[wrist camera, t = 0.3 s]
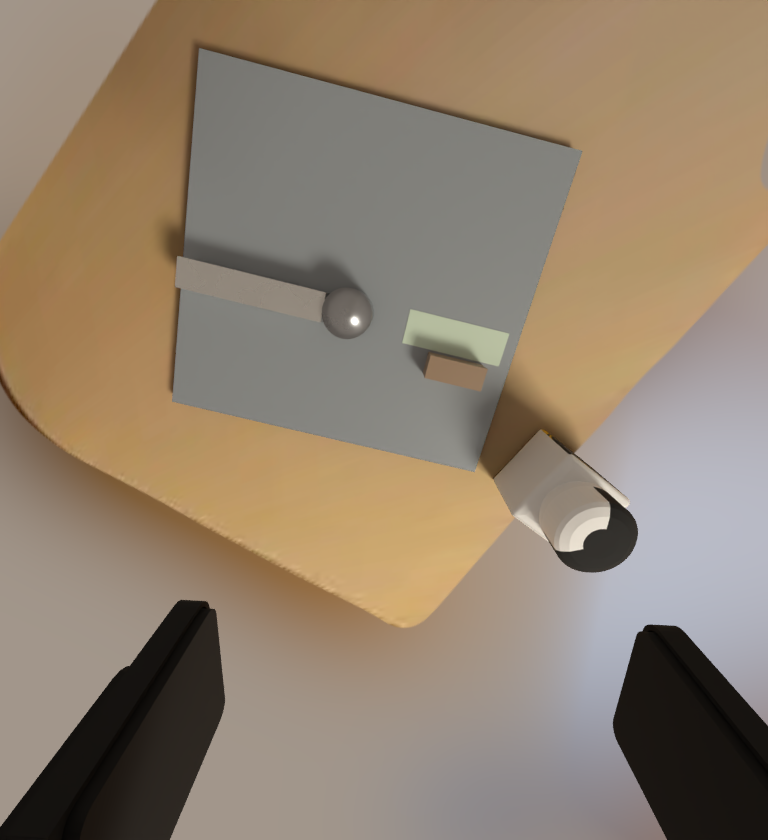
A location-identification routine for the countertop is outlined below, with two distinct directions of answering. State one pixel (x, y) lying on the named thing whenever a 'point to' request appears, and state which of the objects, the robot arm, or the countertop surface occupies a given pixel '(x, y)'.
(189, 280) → the swing bar
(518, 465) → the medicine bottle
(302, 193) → the latch plate
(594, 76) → the countertop surface
